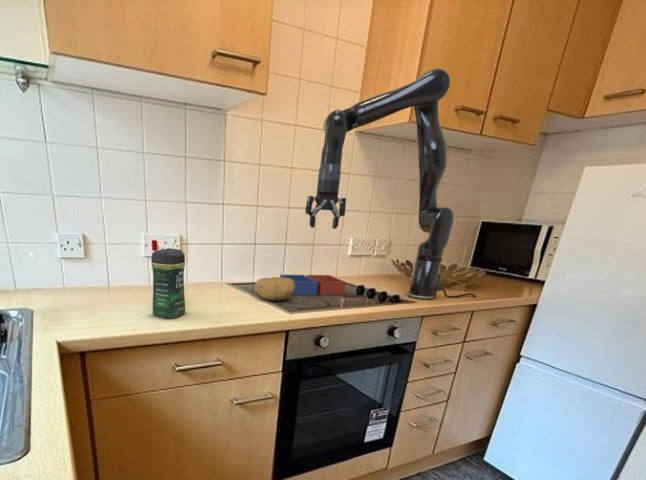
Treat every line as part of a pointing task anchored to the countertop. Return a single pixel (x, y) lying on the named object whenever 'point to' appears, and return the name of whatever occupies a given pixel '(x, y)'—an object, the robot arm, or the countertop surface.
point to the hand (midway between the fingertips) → (323, 228)
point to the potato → (275, 288)
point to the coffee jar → (168, 283)
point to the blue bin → (303, 284)
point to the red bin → (329, 285)
